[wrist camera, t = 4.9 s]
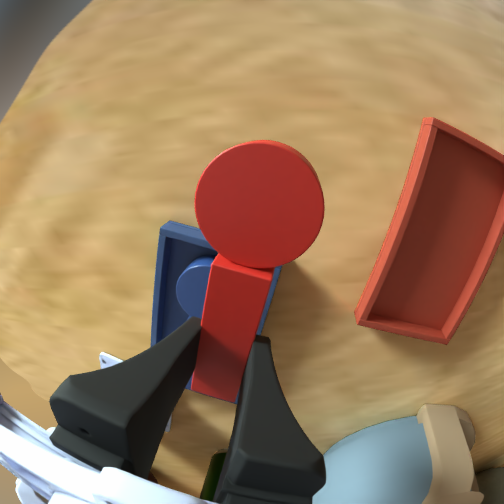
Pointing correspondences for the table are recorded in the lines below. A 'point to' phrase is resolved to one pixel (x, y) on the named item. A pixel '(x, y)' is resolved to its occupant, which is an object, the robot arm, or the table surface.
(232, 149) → the red spoon
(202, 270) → the blue spoon
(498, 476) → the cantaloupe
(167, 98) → the table surface
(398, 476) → the alarm clock
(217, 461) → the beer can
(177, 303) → the blue tray
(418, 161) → the red tray
